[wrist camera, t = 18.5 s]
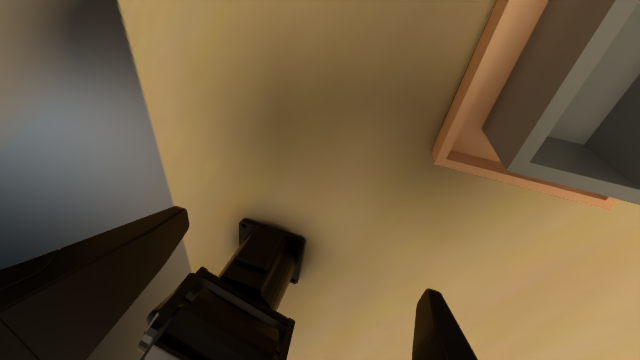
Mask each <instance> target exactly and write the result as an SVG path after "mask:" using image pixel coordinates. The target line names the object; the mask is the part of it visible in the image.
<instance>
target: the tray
mask: <svg viewBox="0 0 640 360" xmlns="http://www.w3.org/2000/svg"><path fill="white" fill-rule="evenodd" d="M548 1H549V0H497V2H496V4H495V6H494V8H493V11H492V13H491V15H490V17H489V20H488V22H487V24H486V27H485V29H484V31H483V33H482V36H481V38H480V40H479V43H478V45H477V47H476V49H475V52H474V54H473V56H472V59H471V61H470V63H469V65H468V68H467V70H466V72H465V75H464V77H463V79H462V81H461V84H460V86H459V88H458V91H457V93H456V95H455V97H454V100H453V102H452V104H451V107H450V109H449V111H448V113H447V116H446V118H445V120H444V123H443V125H442V127H441V129H440V132H439V134H438V136H437V139H436V141H435V143H434V145H433V148H432V155H433V161H434V164H436V165H439V166H443V167H447V168H451V169H455V170H458V171H462V172H466V173H470V174H474V175H477V176H481V177H485V178H489V179H492V180H496V181H500V182H504V183H508V184H511V185H515V186H519V187H523V188H526V189H530V190H534V191H538V192H542V193H545V194H549V195H553V196H557V197H561V198H564V199H568V200H572V201H576V202H579V203H583V204H587V205H591V206H595V207H598V208H602V209H606V210H610V209H611V208H612V207H613V206H614V205H615V204H616V203H617V202H618V201H619V199H615V198H611V197H607V196H603V195H599V194H595V193H592V192H588V191H584V190H580V189H576V188H572V187H568V186H564V185H560V184H556V183H552V182H549V181H545V180H541V179H537V178H533V177H529V176H525V175H521V174H517V173H513V172H509V171H506V169H505V168H504V166H503V164H502V163H501V161H500V159H499V157H498V156H497V154H496V152H495V151H494V149H493V147H492V146H491V144H490V142H489V141H488V139H487V137H486V136H485V134H484V132H483V131H482V129H481V128H482V126H483V125H484V123H485V121H486V119H487V117H488V115H489V113H490V111H491V109H492V107H493V106H494V104H495V102H496V100H497V98H498V96H499V94H500V92H501V90H502V88H503V86H504V85H505V83H506V81H507V79H508V77H509V75H510V73H511V71H512V69H513V67H514V66H515V64H516V62H517V60H518V58H519V56H520V54H521V52H522V50H523V48H524V46H525V45H526V43H527V41H528V39H529V37H530V35H531V33H532V31H533V29H534V27H535V26H536V24H537V22H538V20H539V18H540V16H541V14H542V12H543V10H544V8H545V6H546V5H547V3H548Z"/></svg>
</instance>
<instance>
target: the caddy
mask: <svg viewBox="0 0 640 360" xmlns="http://www.w3.org/2000/svg"><path fill="white" fill-rule="evenodd" d="M481 129H482V131H483V132H484V134H485V136H486V137H487V139H488V141H489V142H490V144H491V146H492V147H493V149H494V151H495V152H496V154H497V156H498V157H499V159H500V161H501V163H502V164H503V166H504V168H505V169H506V171H509V172H513V173H517V174H521V175H525V176H529V177H533V178H537V179H541V180H545V181H549V182H552V183H556V184H560V185H564V186H568V187H572V188H576V189H580V190H584V191H588V192H592V193H595V194H599V195H603V196H607V197H611V198H615V199H619V200H623V201H627V202H631V203H635V204H638V205H640V0H549V1H548V3H547V5H546V6H545V8H544V10H543V12H542V14H541V16H540V18H539V20H538V22H537V24H536V26H535V27H534V29H533V31H532V33H531V35H530V37H529V39H528V41H527V43H526V45H525V46H524V48H523V50H522V52H521V54H520V56H519V58H518V60H517V62H516V64H515V66H514V67H513V69H512V71H511V73H510V75H509V77H508V79H507V81H506V83H505V85H504V86H503V88H502V90H501V92H500V94H499V96H498V98H497V100H496V102H495V104H494V106H493V107H492V109H491V111H490V113H489V115H488V117H487V119H486V121H485V123H484V125H483V126H482V128H481Z"/></svg>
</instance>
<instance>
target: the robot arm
mask: <svg viewBox="0 0 640 360" xmlns="http://www.w3.org/2000/svg"><path fill="white" fill-rule="evenodd" d="M188 228H189V219H188V213H187V210H186V209H185V208H182V207H179V206H174V207H171V208H168V209H165V210H163V211H160V212H157V213H155V214H152V215H149V216H147V217H144V218H141V219H139V220H136V221H133V222H131V223H128V224H125V225H122V226H120V227H117V228H114V229H112V230H109V231H106V232H104V233H101V234H98V235H95V236H93V237H90V238H88V239H85V240H82V241H79V242H77V243H74V244H71V245H68V246H66V247H63V248H61V249H60V250H55V251H52V252H49V253H47V254H44V255H41V256H39V257H36V258H33V259H30V260H27V261H24V262H22V263H19V264H15V265H12V266H9V267H6V268H3V269H0V360H86V359H87V358H88V357H89V355H90V354H91V353H92V352H93V351H94V349H95V348H96V347H97V346H98V345H99V343H100V342H101V341H102V340H103V339H104V337H105V336H106V335H107V334H108V332H109V331H110V330H111V329H112V328H113V326H114V325H115V324H116V323H117V322H118V320H119V319H120V318H121V317H122V316H123V314H124V313H125V312H126V311H127V309H128V308H129V307H130V306H131V305H132V303H133V302H134V301H135V300H136V298H137V297H138V296H139V295H140V294H141V292H142V291H143V290H144V289H145V288H146V286H147V285H148V284H149V283H150V282H151V280H152V279H153V278H154V277H155V275H156V274H157V273H158V272H159V271H160V269H161V268H162V267H163V266H164V264H165V263H166V262H167V260H168V259H169V257H170V256H171V254H172V253H173V251H174V250H175V248H176V247H177V245H178V244H179V242H180V241H181V239H182V238H183V236H184V235H185V233H186V232H187V230H188ZM300 242H301V243H300ZM305 243H306V241H305V239H304V238H302V237H300V236H296V235H293V234H290V233H287V232H284V231H281V230H278V229H275V228H272V227H268V226H265V225H262V224H259V223H256V222H253V221H250V220H247V219H242V220H241V222H240V223H239V248H238V249H237V251H236V252H235V253H234V255H233V256H232V258H231V259H230V260H229V262H228V263H227V265H226V266H225V268H224V269H223V270H222V272H221V273H220V275H219V276H218V277H217V276H216V275H214V274H212V273H211V272H209V271H208V269H206V268H204V267H203V266H202V267H201V268H200V269H199V270H198V271H197V272H196V273H189V274H188V276H187V277H186V278H185V279H184V281H183V282H182V283H181V284H180V285H179V286H178V288H177V289H176V290H175V291H174V292H173V293H172V294H170V295H169V296H168V297H167V298H166V299H165V300H164V301H163V302H161V303H160V304H159V305H158V306H157V307H156V308H155V309H154V310H152V311H151V313H150V314H149V315H148V317H147V318H146V324H147V329H146V331H145V333H144V334H143V338H142V340H141V341H140V343H139V345H138V348H137V349H138V350H139V351H141V352H143V353H144V355H143V356H142V358H141V359H140V360H286V359H287V355H288V350H289V346H290V342H291V337H292V333H293V329H294V325H295V321H294V320H293V319H291V318H287V317H285V316H283V315H282V314H280V313H278V312H277V309H278V307H279V304H280V302H281V300H282V298H283V295H284V293H285V291H286V288H287V286H288V284H289V282H290V283H293V284H296V283H298V280H299V276H300V271H301V265H302V260H303V254H304V249H305ZM412 360H478V359H477V357H476V356H475V354H474V352H473V350H472V348H471V347H470V345H469V343H468V341H467V339H466V338H465V336H464V334H463V332H462V330H461V329H460V327H459V325H458V323H457V321H456V320H455V318H454V316H453V314H452V312H451V310H450V309H449V307H448V305H447V303H446V301H445V300H444V298H443V296H442V294H441V293H440V292H438V291H436V290H433V289H429V288H428V289H426V290H425V292H424V293H423V295H422V296H421V298H420V300H419V301H418V304H417V308H416V318H415V328H414V339H413V350H412Z"/></svg>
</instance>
